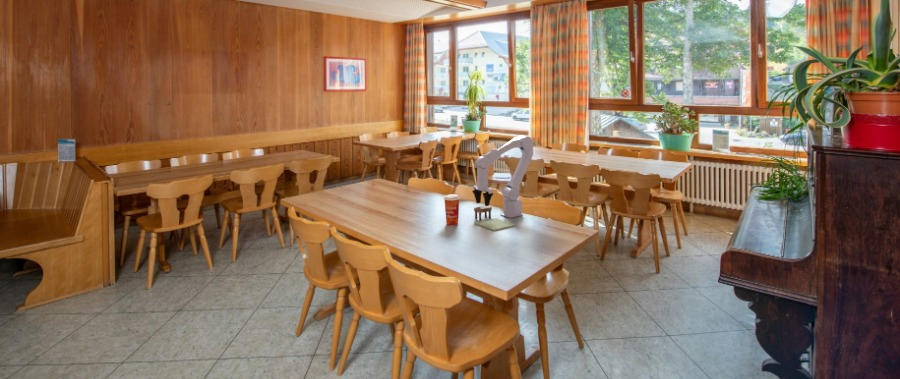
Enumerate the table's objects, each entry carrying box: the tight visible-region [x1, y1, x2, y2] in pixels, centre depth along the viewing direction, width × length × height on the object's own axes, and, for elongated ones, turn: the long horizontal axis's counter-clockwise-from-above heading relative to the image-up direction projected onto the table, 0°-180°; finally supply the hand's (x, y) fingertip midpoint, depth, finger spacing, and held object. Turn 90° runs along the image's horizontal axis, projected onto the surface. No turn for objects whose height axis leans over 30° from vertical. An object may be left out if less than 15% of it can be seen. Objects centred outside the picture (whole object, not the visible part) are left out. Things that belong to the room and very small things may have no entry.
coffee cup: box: [443, 193, 461, 226], centre depth 247 cm, size 8×8×15 cm
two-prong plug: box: [473, 205, 493, 221], centre depth 257 cm, size 8×5×6 cm, turn 123°
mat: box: [474, 217, 517, 232], centre depth 245 cm, size 14×16×1 cm
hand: (482, 204), depth 256 cm, fingers open, 7 cm apart
